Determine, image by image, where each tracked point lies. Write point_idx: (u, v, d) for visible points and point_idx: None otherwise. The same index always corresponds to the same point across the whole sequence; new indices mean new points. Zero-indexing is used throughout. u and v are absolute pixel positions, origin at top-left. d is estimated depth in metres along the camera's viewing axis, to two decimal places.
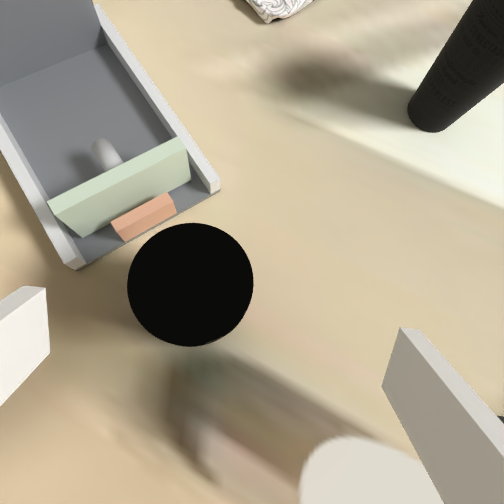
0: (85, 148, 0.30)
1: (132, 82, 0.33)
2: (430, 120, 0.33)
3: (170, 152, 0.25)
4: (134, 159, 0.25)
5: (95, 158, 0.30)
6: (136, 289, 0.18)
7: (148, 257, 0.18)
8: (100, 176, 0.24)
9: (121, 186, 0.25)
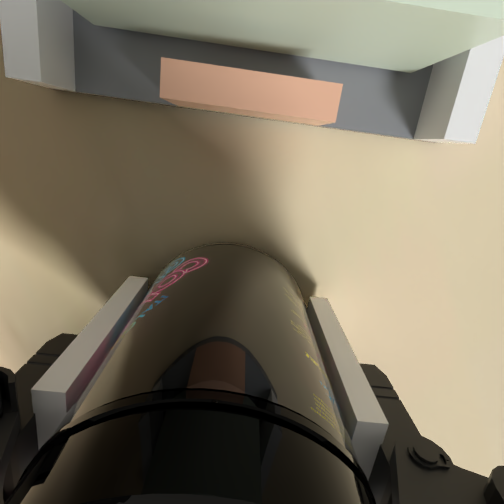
0: None
1: None
2: None
3: None
4: None
5: None
6: None
7: None
8: None
9: None
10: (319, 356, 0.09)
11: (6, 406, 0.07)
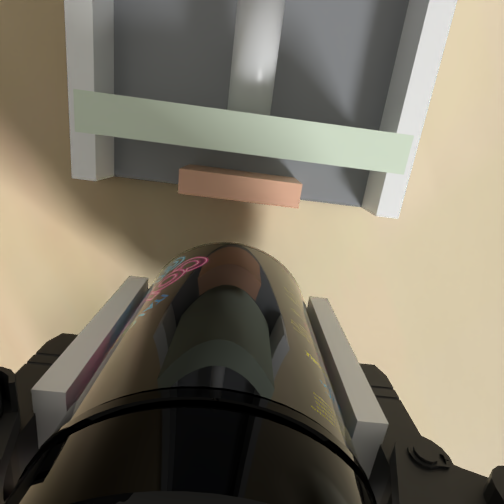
0: None
1: None
2: None
3: (369, 161, 0.11)
4: (294, 123, 0.10)
5: None
6: None
7: None
8: (207, 112, 0.10)
9: None
10: (319, 355, 0.09)
11: (6, 406, 0.07)
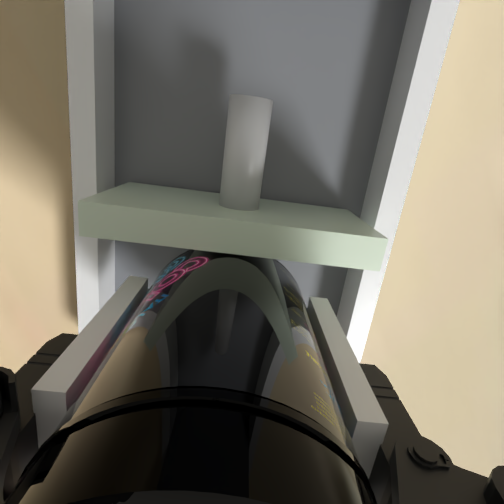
0: (215, 187, 0.16)
1: (382, 109, 0.15)
2: None
3: (348, 260, 0.12)
4: (279, 229, 0.11)
5: None
6: None
7: None
8: (199, 220, 0.11)
9: None
10: (319, 355, 0.09)
11: (6, 406, 0.07)
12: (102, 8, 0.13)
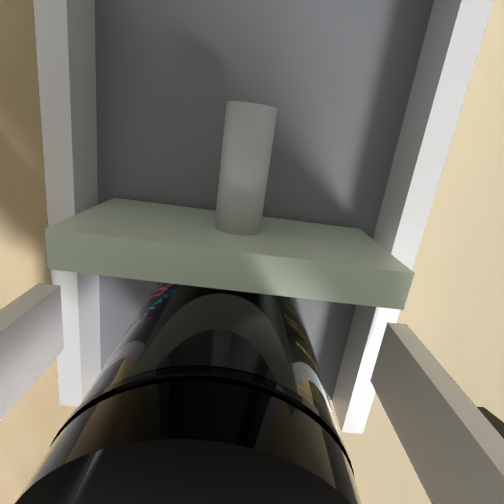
0: (211, 200, 0.14)
1: (401, 113, 0.13)
2: None
3: (365, 297, 0.10)
4: (285, 261, 0.09)
5: None
6: None
7: (124, 479, 0.05)
8: (190, 250, 0.09)
9: None
10: (309, 346, 0.10)
11: None
12: None
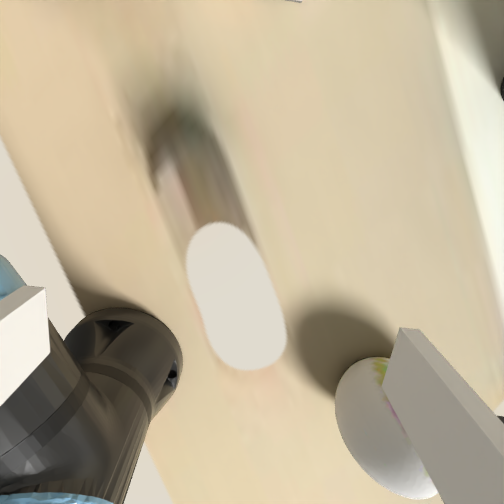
0: None
1: None
2: None
3: None
4: None
5: None
6: None
7: None
8: None
9: None
10: None
11: None
12: None
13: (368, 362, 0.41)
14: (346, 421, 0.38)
